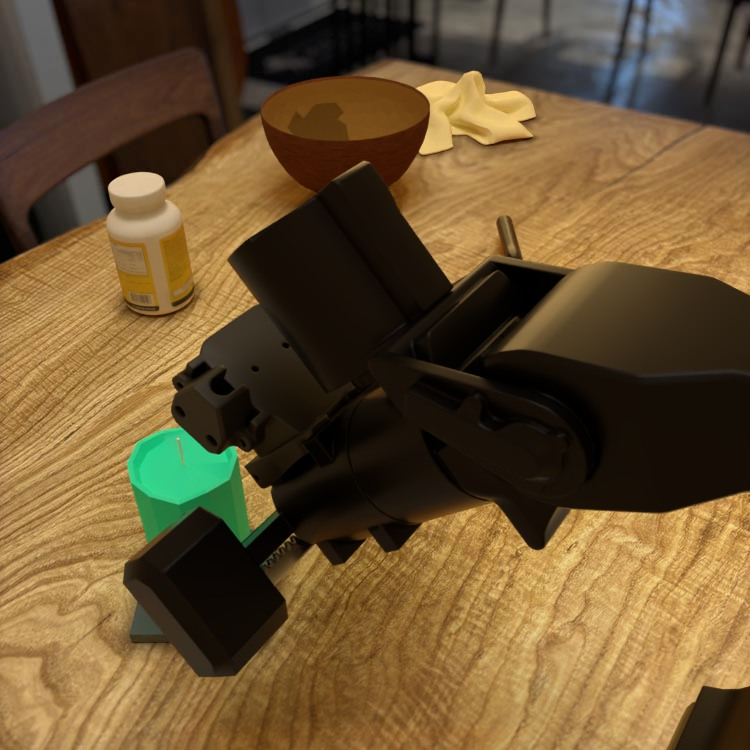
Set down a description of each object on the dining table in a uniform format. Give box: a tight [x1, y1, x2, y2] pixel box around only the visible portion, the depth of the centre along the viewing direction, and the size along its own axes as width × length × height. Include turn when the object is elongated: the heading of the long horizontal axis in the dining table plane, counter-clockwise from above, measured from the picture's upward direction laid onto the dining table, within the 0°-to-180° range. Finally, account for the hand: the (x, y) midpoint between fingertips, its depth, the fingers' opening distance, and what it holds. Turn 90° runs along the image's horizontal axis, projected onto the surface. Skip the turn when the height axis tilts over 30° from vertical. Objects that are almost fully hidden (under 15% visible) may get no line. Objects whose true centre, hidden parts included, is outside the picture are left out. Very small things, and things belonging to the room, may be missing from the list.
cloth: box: [414, 70, 537, 156], centre depth 108 cm, size 22×19×6 cm
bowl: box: [260, 75, 430, 194], centre depth 92 cm, size 18×18×10 cm
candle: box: [126, 426, 251, 544], centre depth 49 cm, size 6×6×12 cm
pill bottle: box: [105, 171, 196, 316], centre depth 75 cm, size 6×6×12 cm
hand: (237, 519), depth 47 cm, fingers open, 9 cm apart
